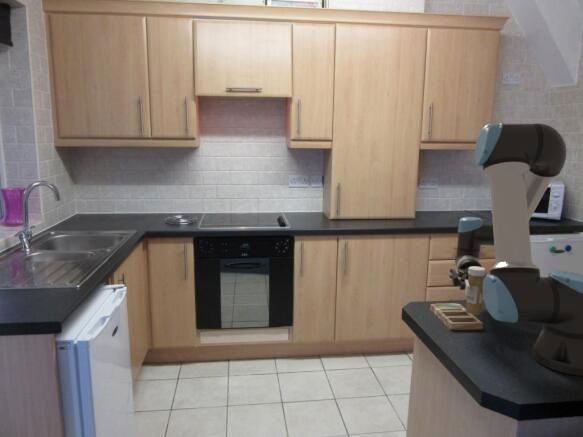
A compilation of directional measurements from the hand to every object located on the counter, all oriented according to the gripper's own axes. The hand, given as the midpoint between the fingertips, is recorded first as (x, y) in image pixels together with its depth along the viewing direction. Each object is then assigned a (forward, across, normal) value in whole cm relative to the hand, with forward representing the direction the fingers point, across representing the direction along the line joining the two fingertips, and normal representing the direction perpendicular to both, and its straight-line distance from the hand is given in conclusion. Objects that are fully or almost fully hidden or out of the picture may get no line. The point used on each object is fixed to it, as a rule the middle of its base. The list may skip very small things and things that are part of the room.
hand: (477, 291), depth 122 cm
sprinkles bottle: (-5, 0, -8) cm, 10 cm away
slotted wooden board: (-16, +4, -15) cm, 22 cm away
